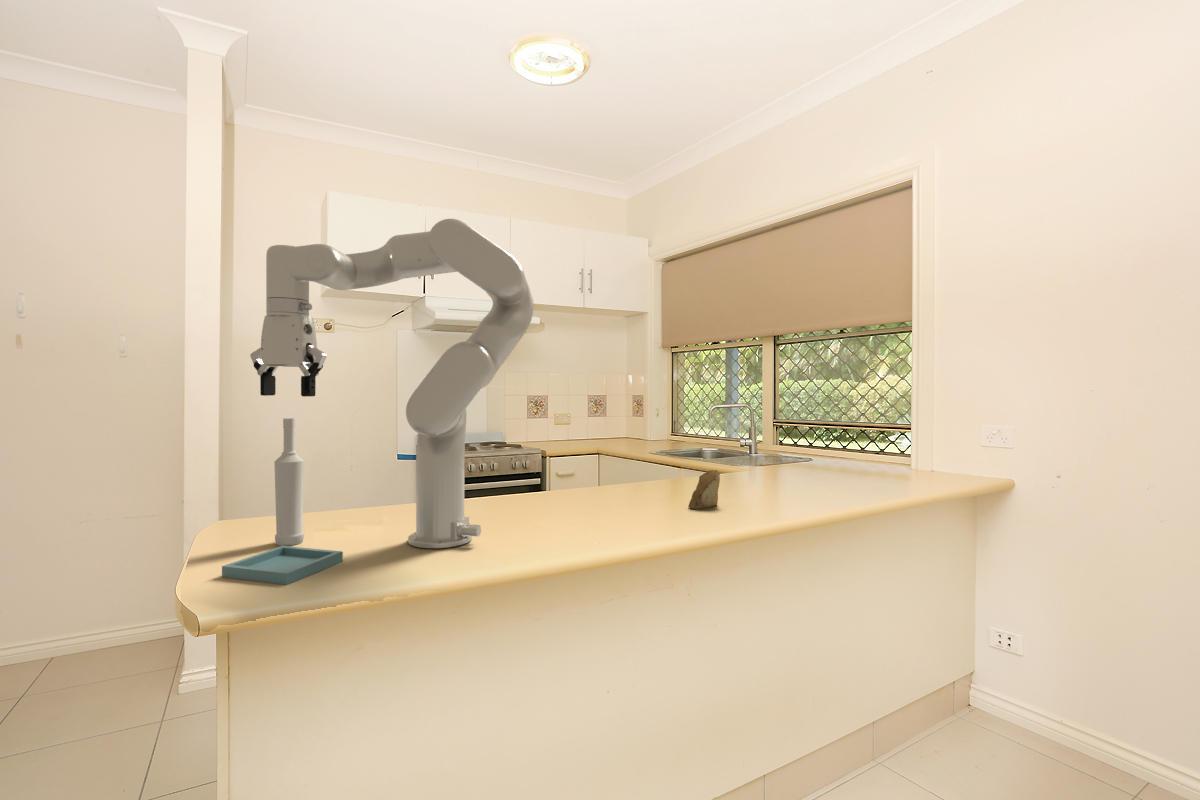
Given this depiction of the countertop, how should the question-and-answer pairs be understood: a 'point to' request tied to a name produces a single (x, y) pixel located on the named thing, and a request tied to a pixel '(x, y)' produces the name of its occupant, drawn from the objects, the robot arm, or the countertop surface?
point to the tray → (282, 564)
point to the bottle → (289, 490)
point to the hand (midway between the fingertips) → (287, 395)
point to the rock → (706, 490)
